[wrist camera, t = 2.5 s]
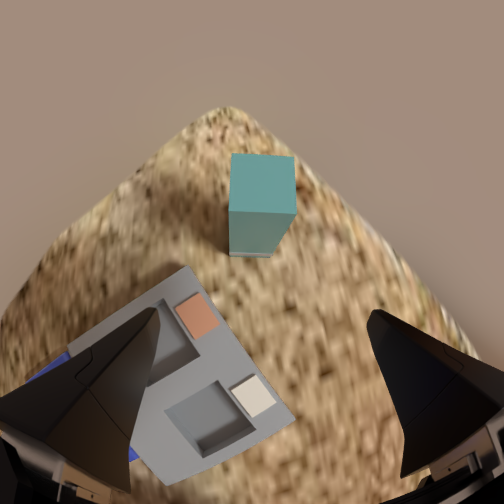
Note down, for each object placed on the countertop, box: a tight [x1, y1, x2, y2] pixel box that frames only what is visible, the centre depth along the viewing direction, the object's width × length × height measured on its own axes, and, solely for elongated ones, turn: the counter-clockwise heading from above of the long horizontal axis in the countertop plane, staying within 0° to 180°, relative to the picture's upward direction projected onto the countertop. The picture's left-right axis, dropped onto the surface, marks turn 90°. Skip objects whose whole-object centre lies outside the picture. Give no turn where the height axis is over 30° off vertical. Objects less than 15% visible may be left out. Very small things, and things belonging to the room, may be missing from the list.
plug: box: [229, 153, 297, 258], centre depth 20 cm, size 4×4×11 cm
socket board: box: [67, 265, 296, 486], centre depth 21 cm, size 16×14×2 cm
